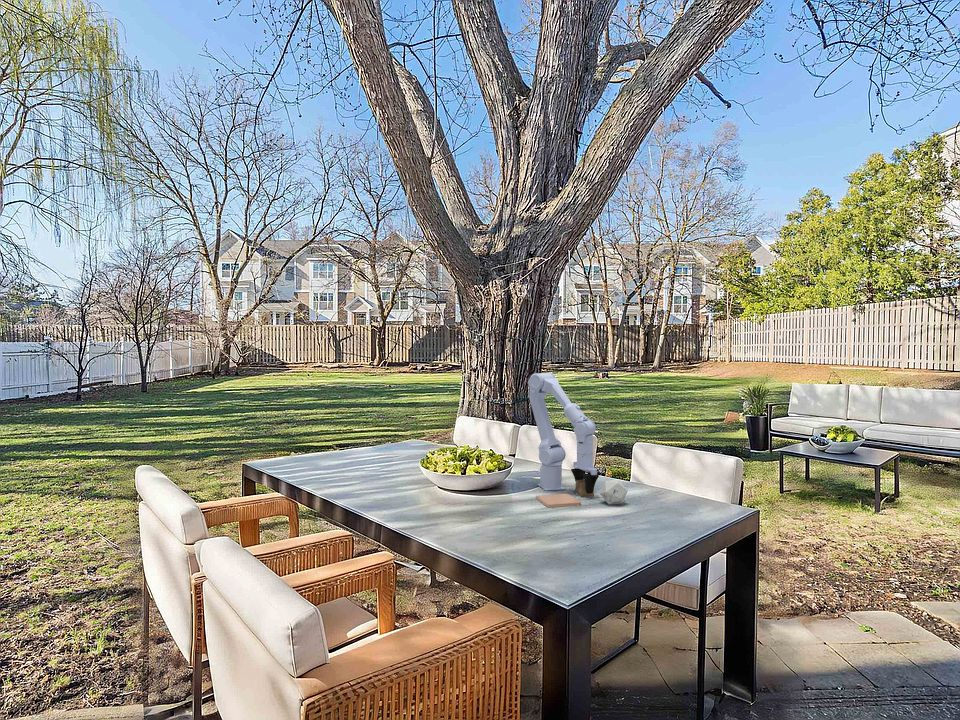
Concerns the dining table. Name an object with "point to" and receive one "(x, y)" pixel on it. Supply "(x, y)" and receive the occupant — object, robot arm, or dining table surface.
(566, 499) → the tile
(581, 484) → the cube
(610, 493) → the die
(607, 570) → the dining table surface
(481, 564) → the dining table surface
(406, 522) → the dining table surface
